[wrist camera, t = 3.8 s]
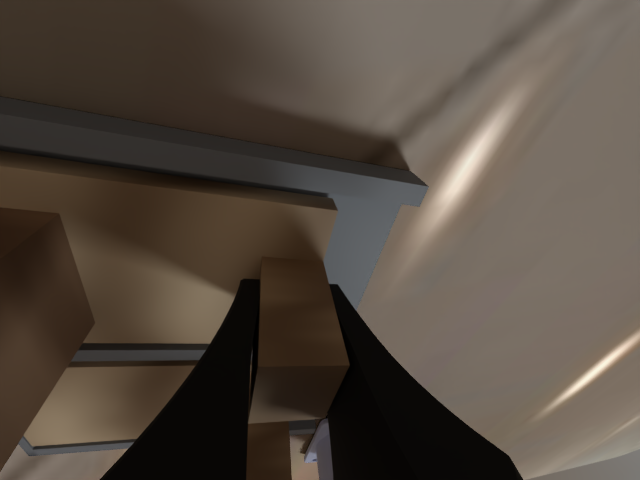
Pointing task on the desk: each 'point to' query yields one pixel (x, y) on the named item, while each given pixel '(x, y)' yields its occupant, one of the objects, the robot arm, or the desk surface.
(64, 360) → the walnut block
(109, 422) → the back strip
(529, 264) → the desk surface
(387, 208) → the tray board
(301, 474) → the desk surface
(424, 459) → the robot arm
